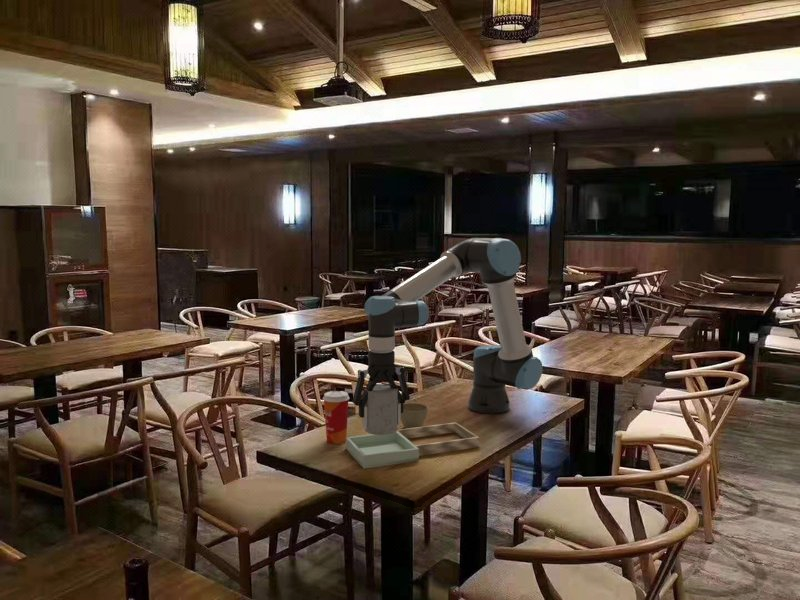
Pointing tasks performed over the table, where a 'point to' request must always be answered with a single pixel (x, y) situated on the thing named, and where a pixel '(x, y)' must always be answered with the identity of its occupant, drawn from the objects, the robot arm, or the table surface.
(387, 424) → the speckled stone pillar
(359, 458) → the bin
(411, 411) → the flower pot
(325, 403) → the coffee cup
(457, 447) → the corral
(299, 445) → the table surface
